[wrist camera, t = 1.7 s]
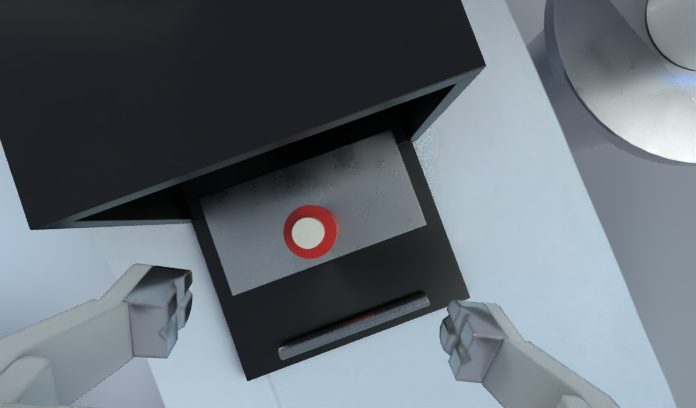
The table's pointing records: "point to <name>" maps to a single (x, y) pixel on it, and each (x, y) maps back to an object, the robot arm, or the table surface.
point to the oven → (247, 146)
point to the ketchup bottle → (310, 231)
